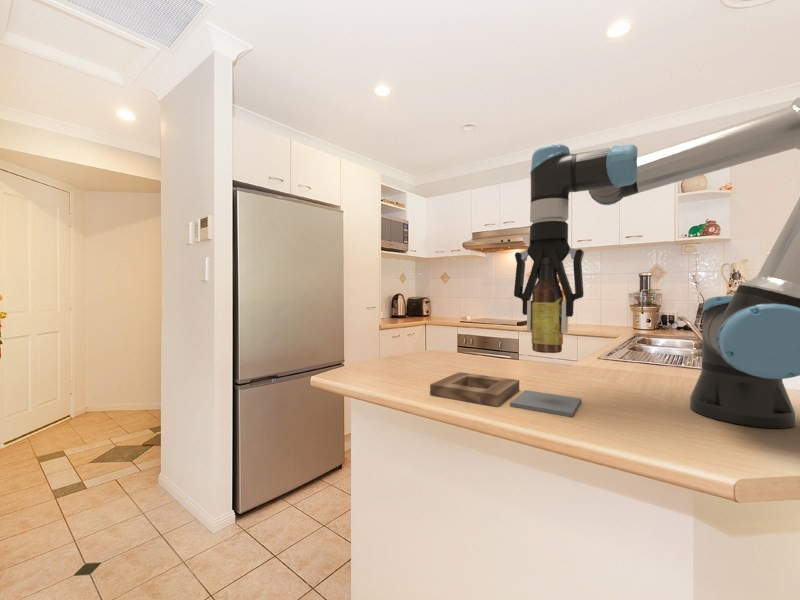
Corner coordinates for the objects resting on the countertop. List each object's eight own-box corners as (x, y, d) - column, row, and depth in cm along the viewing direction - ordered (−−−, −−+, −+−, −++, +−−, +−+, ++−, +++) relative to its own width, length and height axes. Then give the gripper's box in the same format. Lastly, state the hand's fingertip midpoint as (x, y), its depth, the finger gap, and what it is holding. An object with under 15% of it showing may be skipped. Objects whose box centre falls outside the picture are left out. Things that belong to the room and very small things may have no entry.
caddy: (519, 390, 90) (519, 380, 90) (497, 407, 77) (497, 395, 77) (458, 381, 99) (459, 372, 99) (430, 394, 86) (430, 384, 86)
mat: (581, 401, 81) (581, 398, 81) (572, 417, 71) (572, 413, 71) (525, 393, 87) (525, 390, 87) (510, 406, 77) (510, 402, 77)
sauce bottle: (566, 354, 75) (568, 257, 75) (534, 353, 76) (536, 257, 76) (557, 349, 82) (559, 259, 81) (528, 348, 83) (530, 260, 82)
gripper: (601, 221, 76) (599, 332, 77) (509, 229, 87) (507, 327, 87) (598, 214, 70) (595, 336, 70) (498, 224, 80) (497, 329, 81)
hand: (546, 331), depth 79 cm, fingers closed on sauce bottle, 6 cm apart
